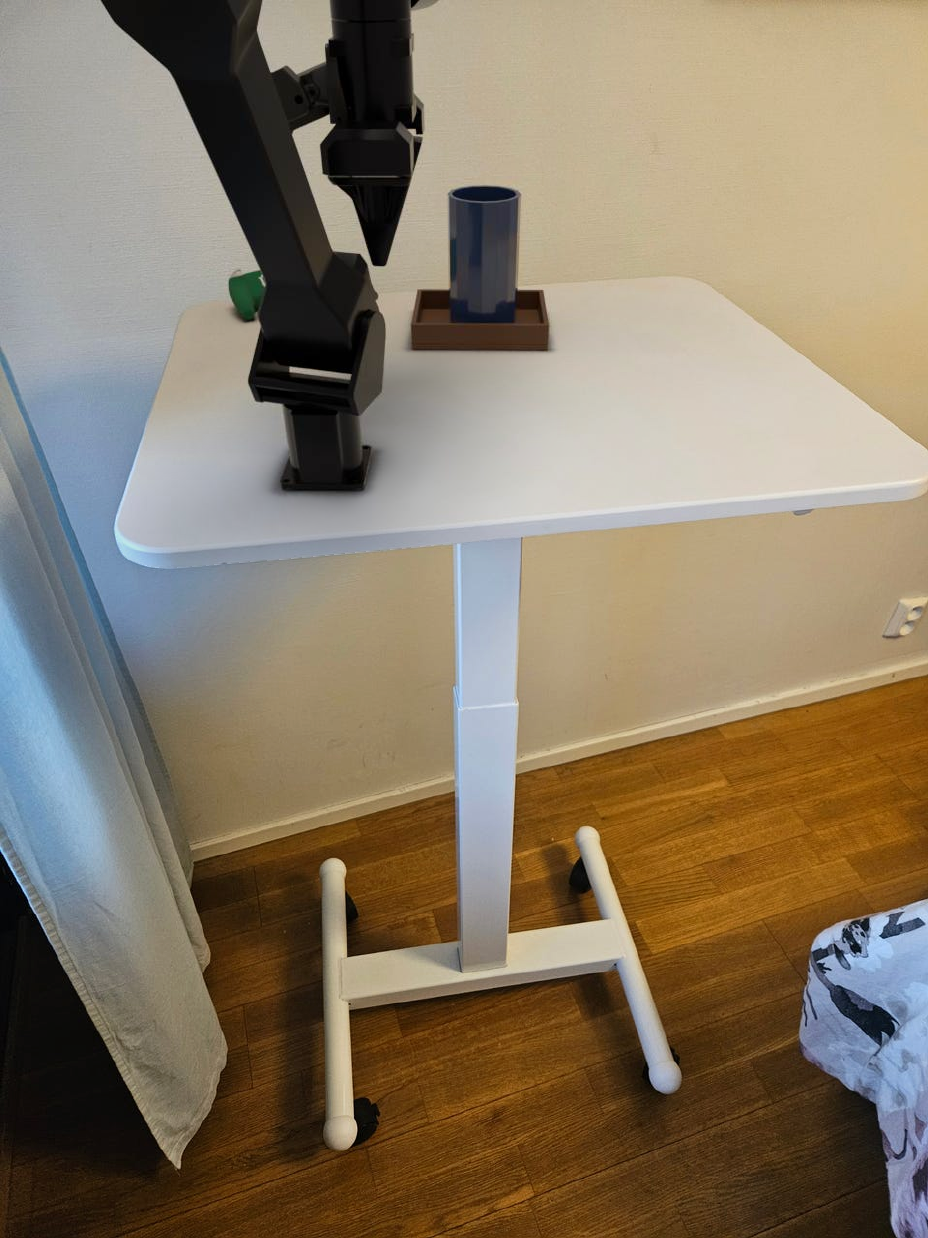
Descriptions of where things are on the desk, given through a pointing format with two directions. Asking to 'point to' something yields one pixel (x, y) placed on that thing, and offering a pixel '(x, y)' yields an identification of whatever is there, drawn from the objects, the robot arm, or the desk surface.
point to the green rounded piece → (246, 291)
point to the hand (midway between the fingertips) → (384, 248)
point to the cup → (483, 254)
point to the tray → (478, 325)
